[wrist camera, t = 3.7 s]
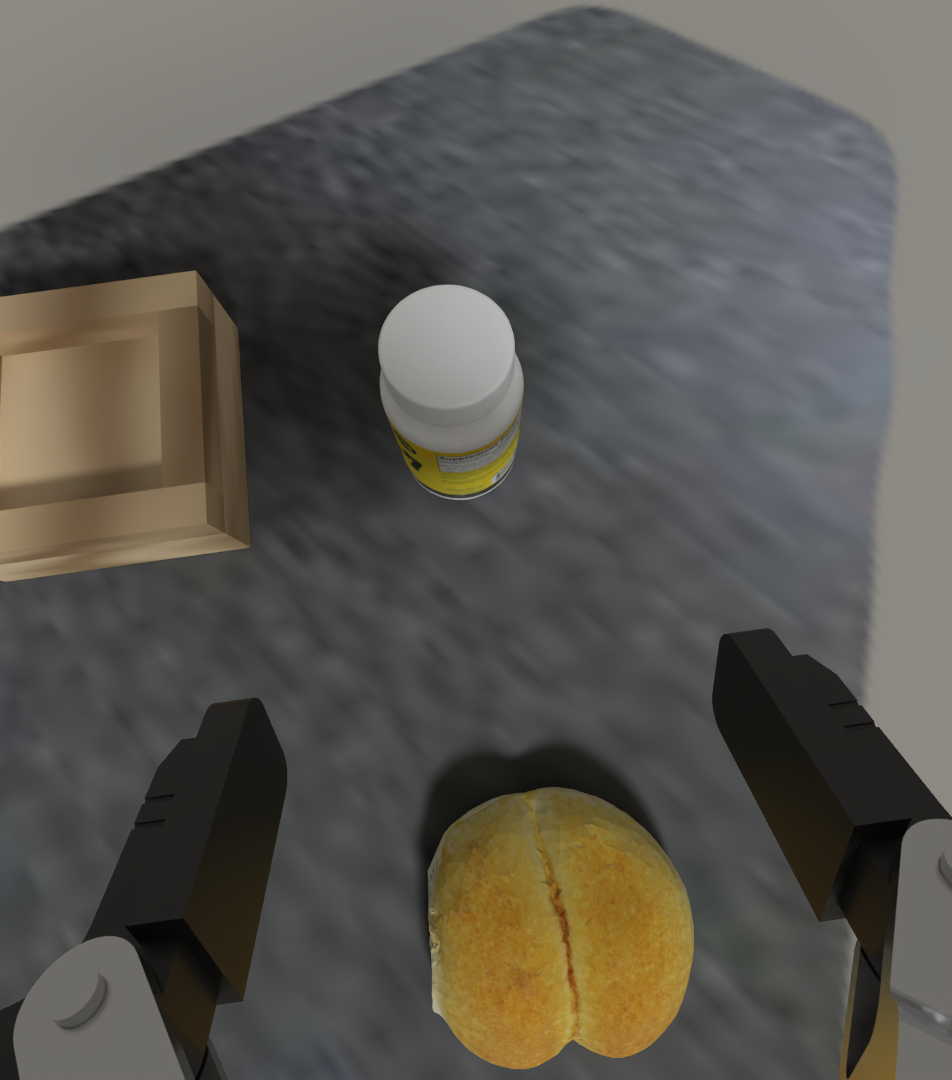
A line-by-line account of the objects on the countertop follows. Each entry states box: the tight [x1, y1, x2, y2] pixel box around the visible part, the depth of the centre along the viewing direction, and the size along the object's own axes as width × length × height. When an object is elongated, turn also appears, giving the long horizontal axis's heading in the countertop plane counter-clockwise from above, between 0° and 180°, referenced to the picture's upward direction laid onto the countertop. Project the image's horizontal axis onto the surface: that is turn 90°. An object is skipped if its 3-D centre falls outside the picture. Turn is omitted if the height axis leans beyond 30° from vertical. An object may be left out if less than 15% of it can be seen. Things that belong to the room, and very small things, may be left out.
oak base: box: [0, 270, 251, 582], centre depth 24 cm, size 10×10×4 cm
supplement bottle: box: [378, 285, 524, 500], centre depth 22 cm, size 5×5×8 cm
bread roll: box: [428, 787, 694, 1069], centre depth 20 cm, size 8×9×4 cm
